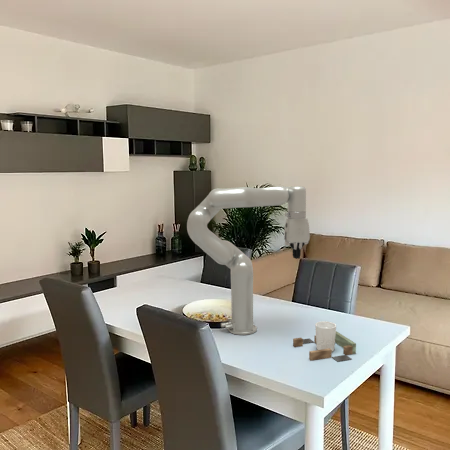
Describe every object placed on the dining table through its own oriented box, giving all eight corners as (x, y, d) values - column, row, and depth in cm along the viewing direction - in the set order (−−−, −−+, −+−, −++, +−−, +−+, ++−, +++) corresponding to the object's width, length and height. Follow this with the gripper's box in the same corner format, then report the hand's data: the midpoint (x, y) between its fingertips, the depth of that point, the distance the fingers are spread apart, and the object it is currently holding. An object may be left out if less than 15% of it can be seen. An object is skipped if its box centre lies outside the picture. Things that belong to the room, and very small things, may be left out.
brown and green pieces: (316, 365, 166) (316, 354, 165) (288, 342, 188) (288, 332, 188) (362, 358, 172) (362, 347, 171) (329, 336, 194) (329, 327, 193)
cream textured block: (313, 345, 184) (313, 321, 183) (332, 345, 184) (332, 321, 183) (317, 353, 176) (318, 328, 175) (338, 353, 176) (338, 327, 175)
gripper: (284, 217, 189) (284, 261, 192) (316, 215, 194) (316, 258, 196) (276, 215, 196) (276, 257, 199) (308, 213, 201) (308, 255, 203)
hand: (296, 258), depth 197 cm, fingers closed
